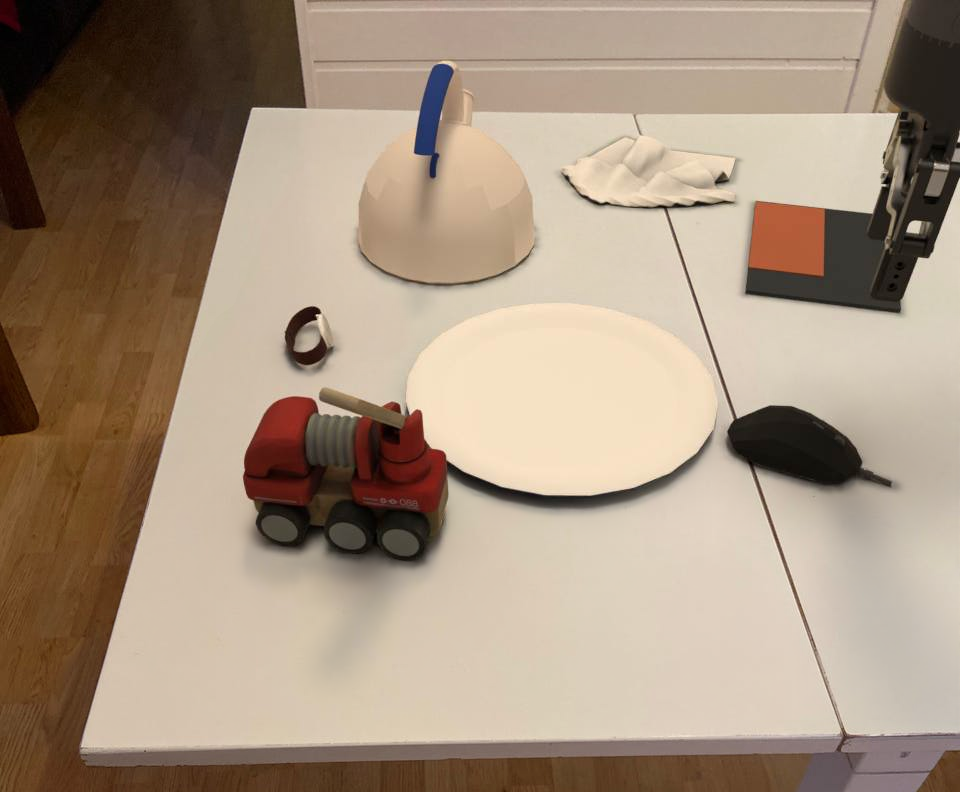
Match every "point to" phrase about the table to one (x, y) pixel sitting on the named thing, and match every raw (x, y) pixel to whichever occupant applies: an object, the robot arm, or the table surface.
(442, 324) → the table surface
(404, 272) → the kettle
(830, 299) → the mat
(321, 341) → the watch
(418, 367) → the plate
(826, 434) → the gaming mouse
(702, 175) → the cloth
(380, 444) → the toy fire truck
